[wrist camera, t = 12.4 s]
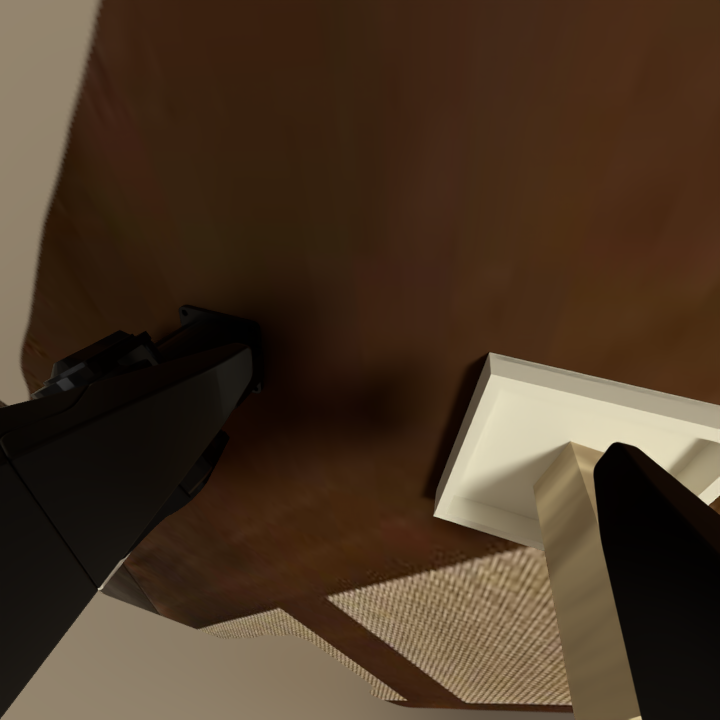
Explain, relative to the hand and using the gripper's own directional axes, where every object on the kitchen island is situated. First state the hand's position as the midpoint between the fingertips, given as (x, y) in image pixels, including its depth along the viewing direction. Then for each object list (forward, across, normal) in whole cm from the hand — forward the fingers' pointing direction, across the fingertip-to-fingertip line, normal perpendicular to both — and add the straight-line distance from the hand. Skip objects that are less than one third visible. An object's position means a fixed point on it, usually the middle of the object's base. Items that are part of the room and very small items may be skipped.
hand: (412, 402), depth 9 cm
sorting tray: (+13, -11, +12) cm, 21 cm away
